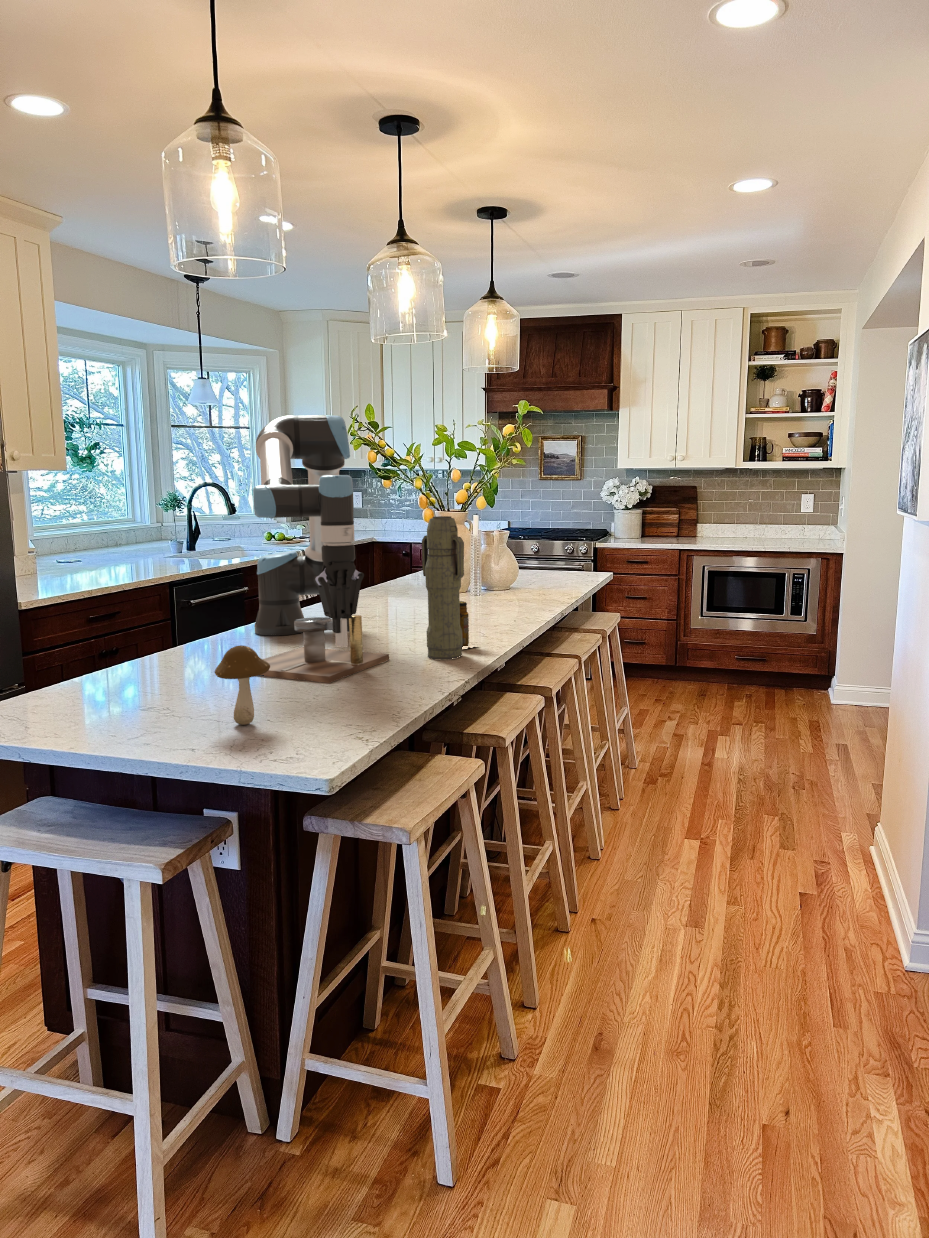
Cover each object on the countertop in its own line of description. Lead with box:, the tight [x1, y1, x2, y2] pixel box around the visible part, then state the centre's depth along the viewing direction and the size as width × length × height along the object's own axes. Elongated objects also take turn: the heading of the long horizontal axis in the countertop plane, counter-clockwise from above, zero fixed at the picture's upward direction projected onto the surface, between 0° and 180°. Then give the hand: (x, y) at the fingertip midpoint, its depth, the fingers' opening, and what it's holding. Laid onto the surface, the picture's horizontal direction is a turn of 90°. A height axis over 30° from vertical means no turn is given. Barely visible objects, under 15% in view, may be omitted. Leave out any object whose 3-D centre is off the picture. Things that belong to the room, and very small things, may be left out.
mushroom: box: [214, 645, 270, 726], centre depth 165 cm, size 9×11×15 cm
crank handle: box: [294, 614, 364, 664], centre depth 211 cm, size 10×18×11 cm, turn 64°
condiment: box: [460, 600, 470, 647], centre depth 234 cm, size 7×8×12 cm
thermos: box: [421, 515, 465, 660], centre depth 220 cm, size 9×12×35 cm
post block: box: [261, 631, 390, 684], centre depth 213 cm, size 26×26×9 cm
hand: (341, 646), depth 204 cm, fingers closed
